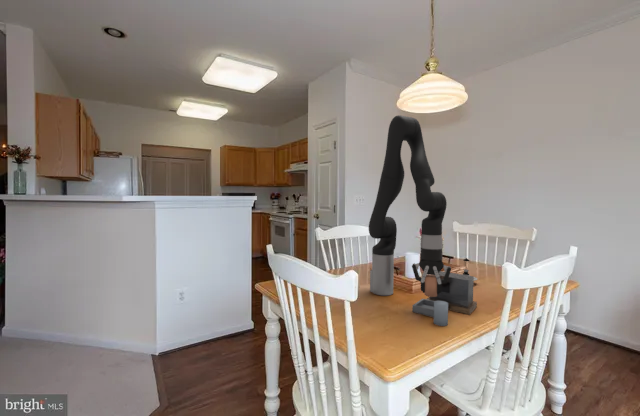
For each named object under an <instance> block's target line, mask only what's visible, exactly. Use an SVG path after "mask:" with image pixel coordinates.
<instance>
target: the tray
mask: <svg viewBox="0 0 640 416" xmlns="http://www.w3.org/2000/svg"><path fill="white" fill-rule="evenodd" d="M411 309H412V311H411V312H412V313H415V314H418V315H422V316H426V317H430V318H434V301H432V300H427V298H421V299H420V300H418V301H417V302H415V303H413V304H412V307H411Z"/></svg>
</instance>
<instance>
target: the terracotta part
mask: <svg viewBox="0 0 640 416" xmlns="http://www.w3.org/2000/svg"><path fill="white" fill-rule="evenodd" d="M424 282H425V293H424V296H426V297H436V296H437V279H436V276H435V275H430V274H427V275H426V278H425V281H424Z"/></svg>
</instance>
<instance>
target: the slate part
mask: <svg viewBox="0 0 640 416" xmlns="http://www.w3.org/2000/svg"><path fill="white" fill-rule="evenodd" d="M448 319H449V310H448V303H447V302H445V301H439V300H438V301H434V317H433V324H434V325H436V326H440V327H447V326H448V324H449V322H448V321H449V320H448Z"/></svg>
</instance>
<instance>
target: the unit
mask: <svg viewBox="0 0 640 416" xmlns="http://www.w3.org/2000/svg"><path fill="white" fill-rule="evenodd" d="M445 273H446V272H445V271H442V270H441V271H440V272H439V274H440V278H441V279H444V276H445ZM462 274H463V273H462ZM462 274H461V273H454V272H450V274H449V277H448V280H447V283H442V284H441V293H439V294H437V296H436V297H429V296H427V298H426V299H427V300H432V301H438V300H439V301H445V302H447V303H448V311H450V312H456V313H461V314H464V315H469V316H470V315H471V314H472V313H473V311H475V310H476V308H477V307H478V305H477V304H478V303H477V302H478V301H475V300H474V283H473V282H474V277H475V276H472V275H470V276H468V275H462ZM429 275H432V274H429ZM437 283H438V282H437Z"/></svg>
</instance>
